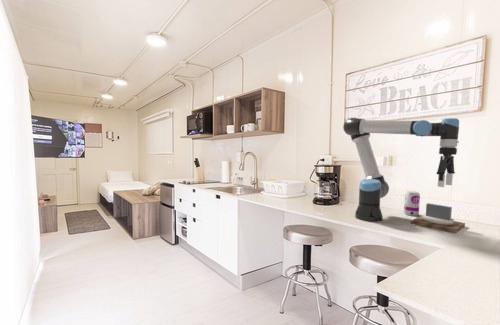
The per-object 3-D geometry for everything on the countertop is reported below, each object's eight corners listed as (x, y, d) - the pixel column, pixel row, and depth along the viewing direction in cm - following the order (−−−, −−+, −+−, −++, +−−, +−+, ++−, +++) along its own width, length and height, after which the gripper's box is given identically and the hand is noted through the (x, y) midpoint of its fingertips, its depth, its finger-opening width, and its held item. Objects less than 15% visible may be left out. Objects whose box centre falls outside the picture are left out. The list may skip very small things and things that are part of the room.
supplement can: (421, 216, 160) (423, 193, 159) (408, 216, 160) (410, 192, 159) (413, 213, 168) (414, 190, 167) (401, 212, 168) (402, 190, 168)
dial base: (410, 223, 143) (411, 220, 143) (423, 218, 156) (423, 214, 155) (455, 233, 128) (455, 229, 127) (464, 226, 140) (465, 222, 140)
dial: (419, 220, 143) (420, 204, 142) (427, 216, 151) (428, 201, 151) (449, 226, 132) (450, 209, 131) (456, 222, 140) (457, 206, 140)
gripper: (449, 146, 126) (446, 188, 127) (463, 147, 141) (459, 185, 143) (432, 146, 132) (428, 186, 133) (446, 147, 147) (443, 183, 148)
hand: (444, 185), depth 138 cm, fingers open, 13 cm apart
